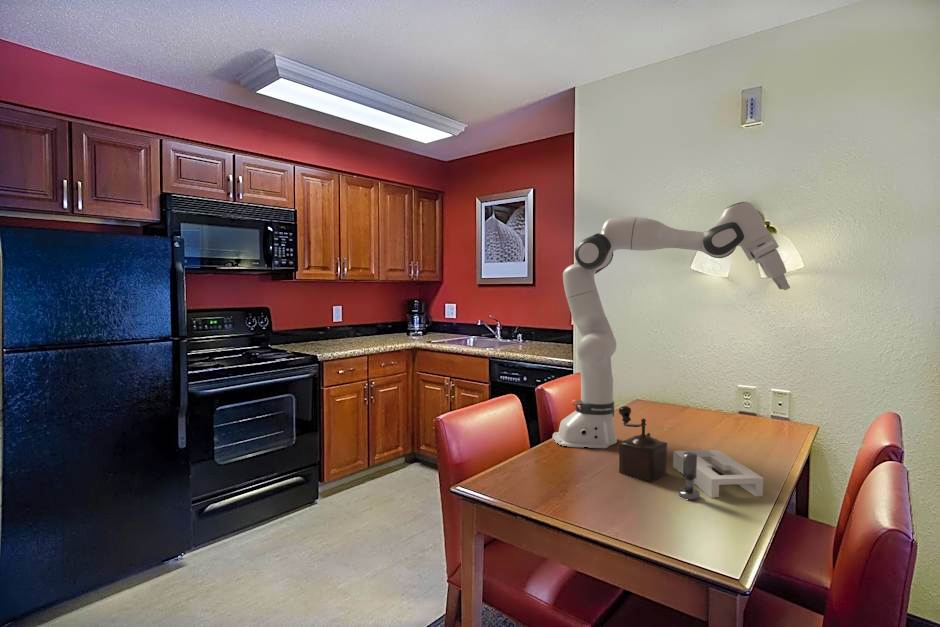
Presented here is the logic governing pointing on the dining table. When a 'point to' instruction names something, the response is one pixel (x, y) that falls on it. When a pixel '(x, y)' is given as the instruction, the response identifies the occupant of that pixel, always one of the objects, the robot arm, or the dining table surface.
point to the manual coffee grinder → (641, 453)
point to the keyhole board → (723, 464)
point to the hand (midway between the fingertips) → (785, 288)
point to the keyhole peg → (689, 477)
